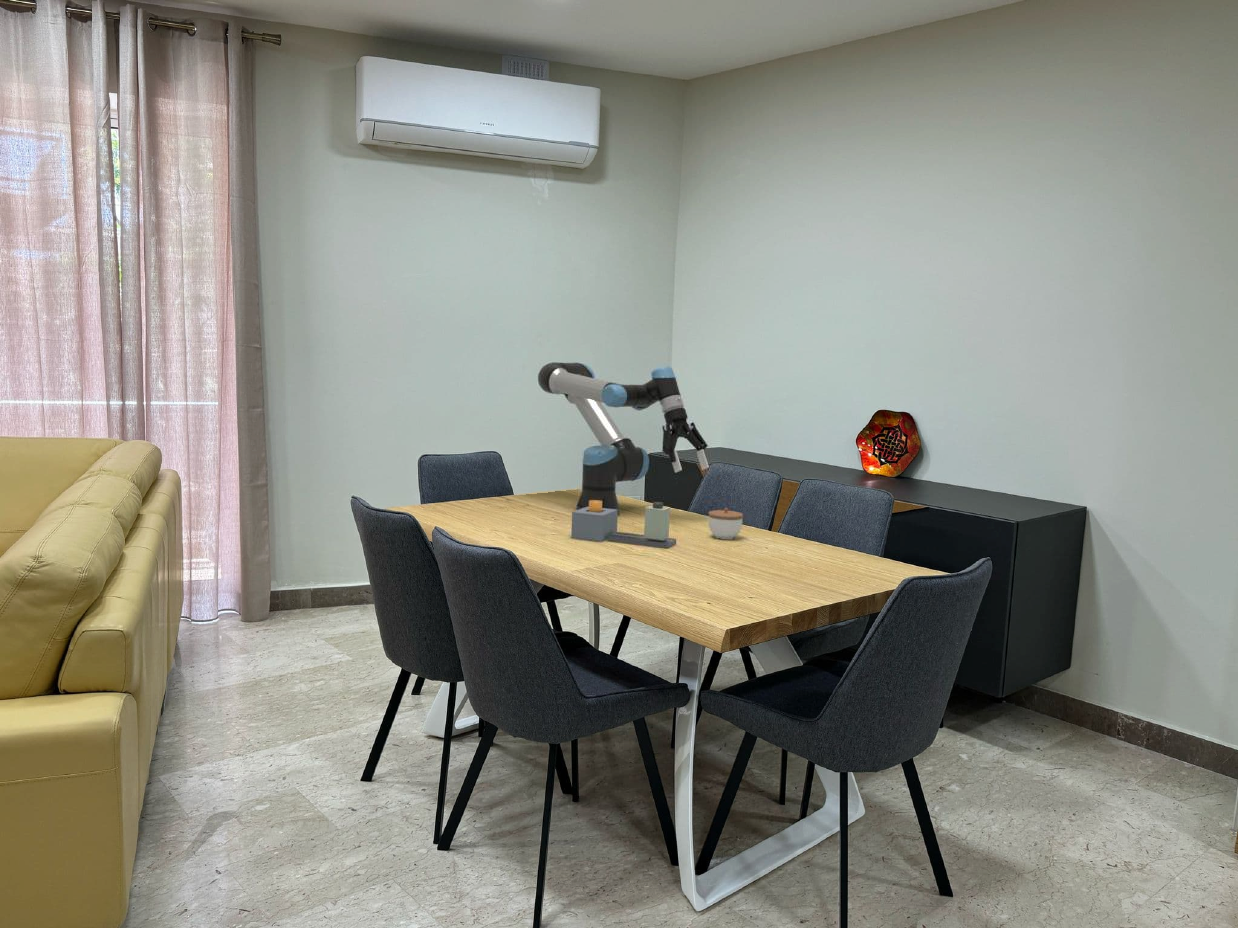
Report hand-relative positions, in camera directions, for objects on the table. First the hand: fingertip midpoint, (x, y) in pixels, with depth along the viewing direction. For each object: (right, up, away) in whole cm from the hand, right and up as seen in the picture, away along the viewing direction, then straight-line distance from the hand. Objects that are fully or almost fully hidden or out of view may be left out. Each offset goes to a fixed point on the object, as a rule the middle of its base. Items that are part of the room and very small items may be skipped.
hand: (692, 470), depth 313 cm
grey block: (-32, -20, -26) cm, 46 cm away
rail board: (-18, -21, -32) cm, 42 cm away
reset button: (-32, -15, -27) cm, 44 cm away
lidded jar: (+9, -21, -19) cm, 30 cm away
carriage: (-13, -20, -34) cm, 42 cm away
